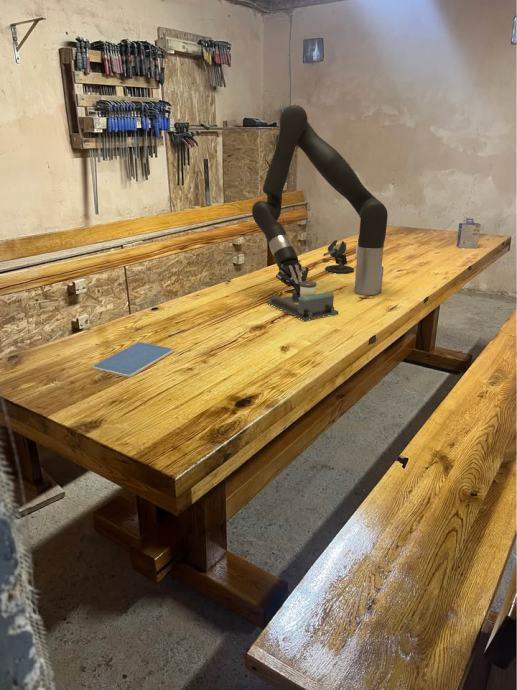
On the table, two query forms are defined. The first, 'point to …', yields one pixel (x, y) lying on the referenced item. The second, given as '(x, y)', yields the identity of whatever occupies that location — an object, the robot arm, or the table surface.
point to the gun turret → (338, 259)
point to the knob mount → (306, 305)
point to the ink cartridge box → (468, 234)
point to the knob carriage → (307, 288)
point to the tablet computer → (133, 359)
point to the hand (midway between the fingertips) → (302, 295)
